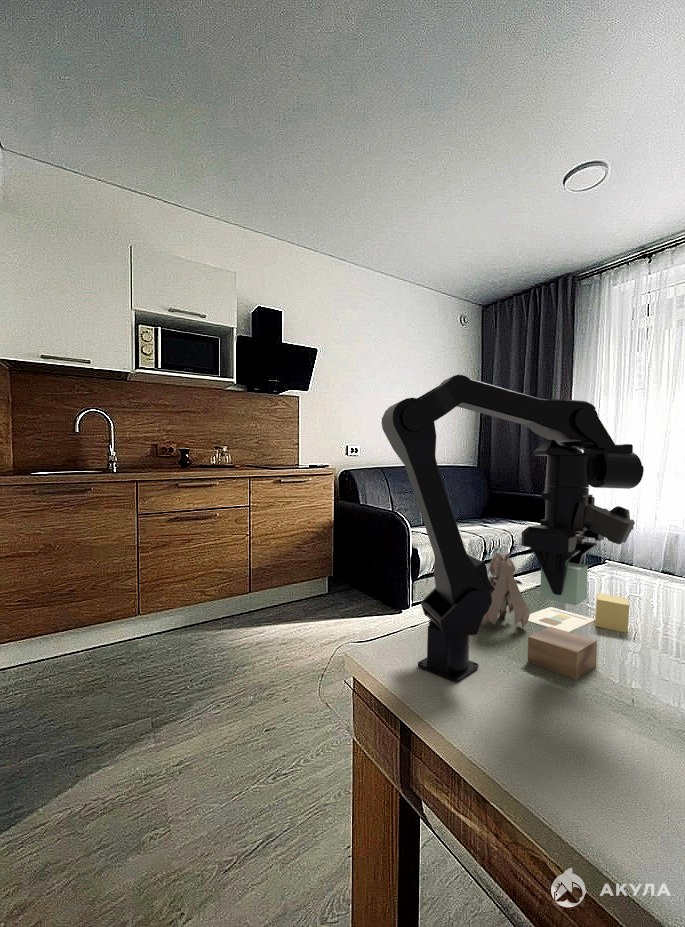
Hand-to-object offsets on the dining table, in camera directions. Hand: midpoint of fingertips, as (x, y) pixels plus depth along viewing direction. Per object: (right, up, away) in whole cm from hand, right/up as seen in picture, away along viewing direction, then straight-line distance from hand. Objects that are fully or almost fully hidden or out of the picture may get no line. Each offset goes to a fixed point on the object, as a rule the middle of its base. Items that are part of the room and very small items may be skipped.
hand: (563, 591), depth 67 cm
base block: (0, -11, 0) cm, 11 cm away
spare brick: (+17, -11, +17) cm, 26 cm away
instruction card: (+8, -11, +19) cm, 24 cm away
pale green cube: (0, -1, 0) cm, 1 cm away
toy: (-4, -11, +16) cm, 20 cm away
